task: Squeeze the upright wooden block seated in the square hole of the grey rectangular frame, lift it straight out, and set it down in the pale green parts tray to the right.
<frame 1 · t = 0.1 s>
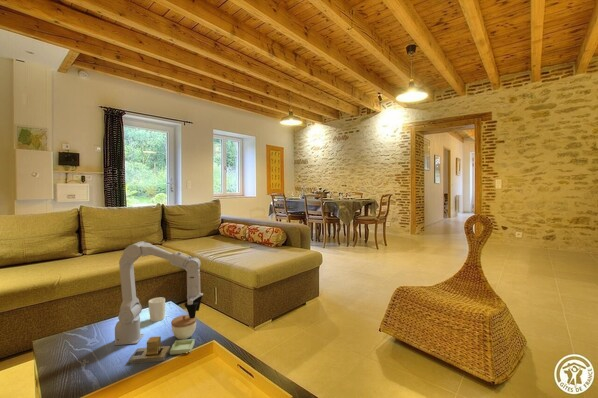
hand: (194, 314, 134), 10 cm above the table, fingers open, 7 cm apart
lidded jar: (184, 336, 134), on the table
parts tray: (182, 348, 123), on the table
white cup: (157, 319, 153), on the table
grey rectangular frame: (150, 356, 118), on the table
upright wooden block: (154, 356, 118), resting in grey rectangular frame
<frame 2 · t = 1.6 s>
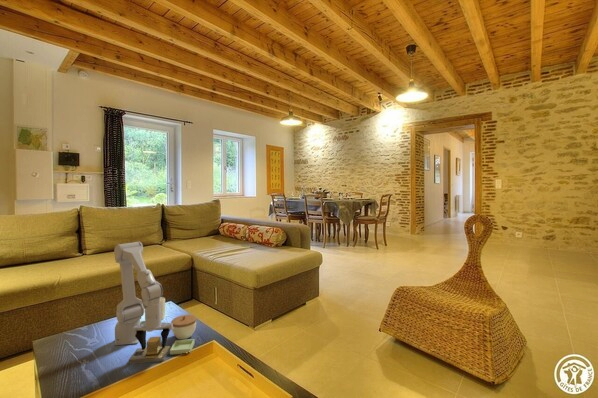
hand: (154, 347, 118), 3 cm above the table, fingers open, 7 cm apart
nothing on the table moved.
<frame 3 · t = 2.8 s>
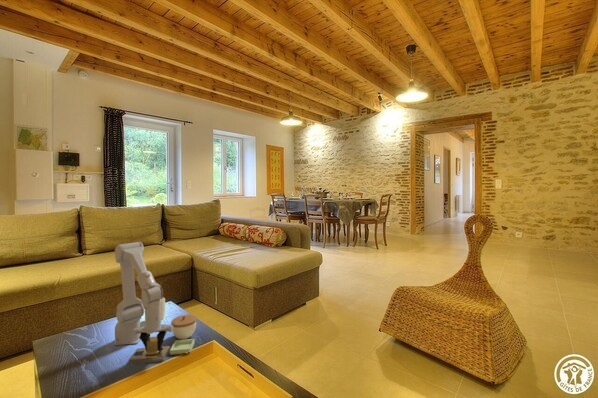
hand: (154, 349, 118), 3 cm above the table, fingers closed on upright wooden block, 4 cm apart
upright wooden block: (154, 356, 118), resting in grey rectangular frame, touching gripper
everything else where it was.
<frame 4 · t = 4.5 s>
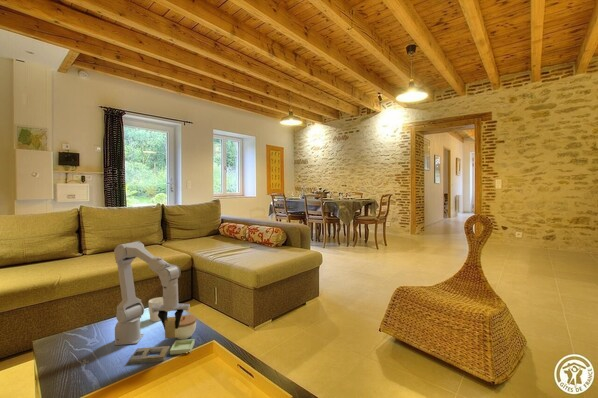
hand: (171, 327, 121), 10 cm above the table, fingers closed on upright wooden block, 4 cm apart
upright wooden block: (171, 335, 121), point 7 cm above the table, touching gripper
everything else where it was.
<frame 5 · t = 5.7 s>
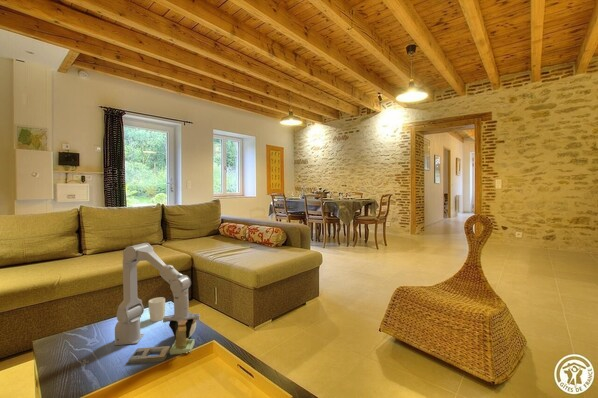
hand: (182, 337, 123), 5 cm above the table, fingers closed on upright wooden block, 4 cm apart
upright wooden block: (182, 345, 123), point 2 cm above the table, touching gripper
everything else where it was.
when the fingers open (5 cm above the table, at t = 6.6 s): upright wooden block stays where it is, resting on parts tray.
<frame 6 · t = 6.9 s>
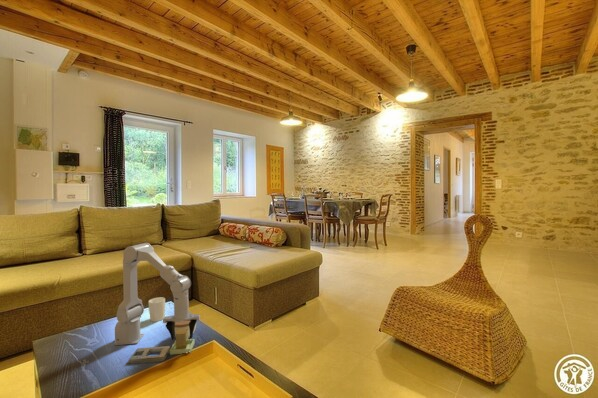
hand: (182, 338, 123), 5 cm above the table, fingers open, 7 cm apart
upright wooden block: (182, 347, 123), resting on parts tray
everything else where it was.
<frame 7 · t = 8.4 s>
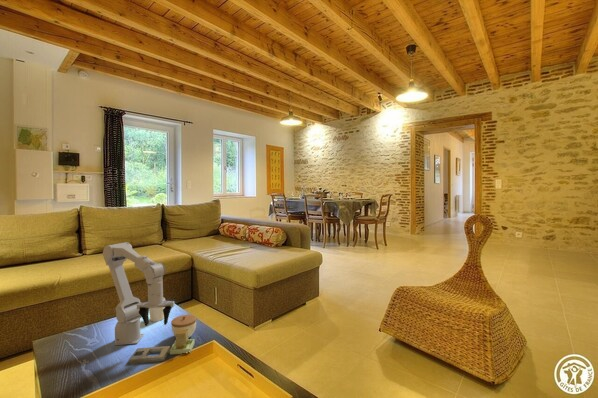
hand: (156, 324, 124), 10 cm above the table, fingers open, 7 cm apart
nothing on the table moved.
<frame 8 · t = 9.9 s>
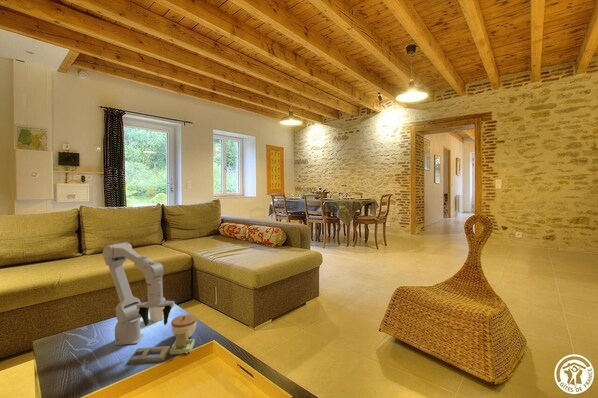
hand: (156, 324, 124), 10 cm above the table, fingers open, 7 cm apart
nothing on the table moved.
at the end: upright wooden block 0.2 cm off-centre on the parts tray, point 0.5 cm above the parts tray's base; upright wooden block tilted 0°; the gripper is holding nothing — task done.
